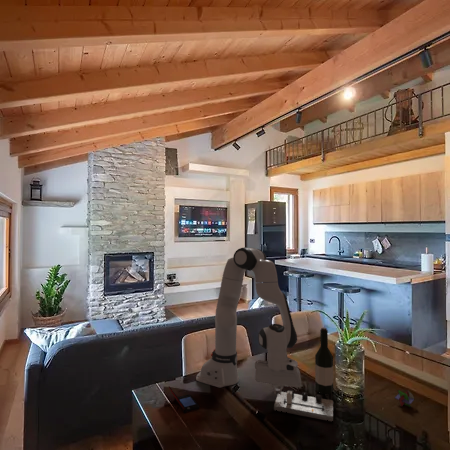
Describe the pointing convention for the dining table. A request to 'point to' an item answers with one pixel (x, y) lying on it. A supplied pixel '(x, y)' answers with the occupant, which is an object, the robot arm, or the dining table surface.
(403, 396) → the geometric puzzle
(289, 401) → the fader
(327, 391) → the wine bottle
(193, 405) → the handheld game console
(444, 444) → the dining table surface
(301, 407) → the console
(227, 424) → the dining table surface
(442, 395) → the dining table surface
